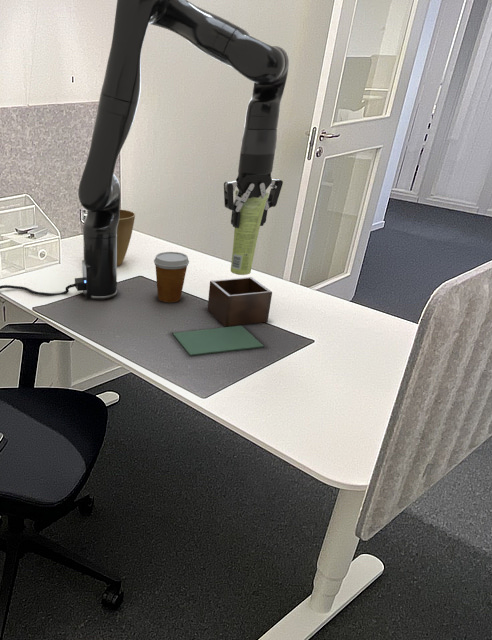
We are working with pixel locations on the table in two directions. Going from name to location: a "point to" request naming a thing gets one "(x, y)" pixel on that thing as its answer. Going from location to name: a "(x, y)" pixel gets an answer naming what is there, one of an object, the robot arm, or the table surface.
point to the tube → (247, 235)
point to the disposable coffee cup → (170, 275)
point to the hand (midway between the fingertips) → (247, 225)
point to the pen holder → (239, 301)
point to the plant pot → (124, 233)
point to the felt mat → (217, 340)
